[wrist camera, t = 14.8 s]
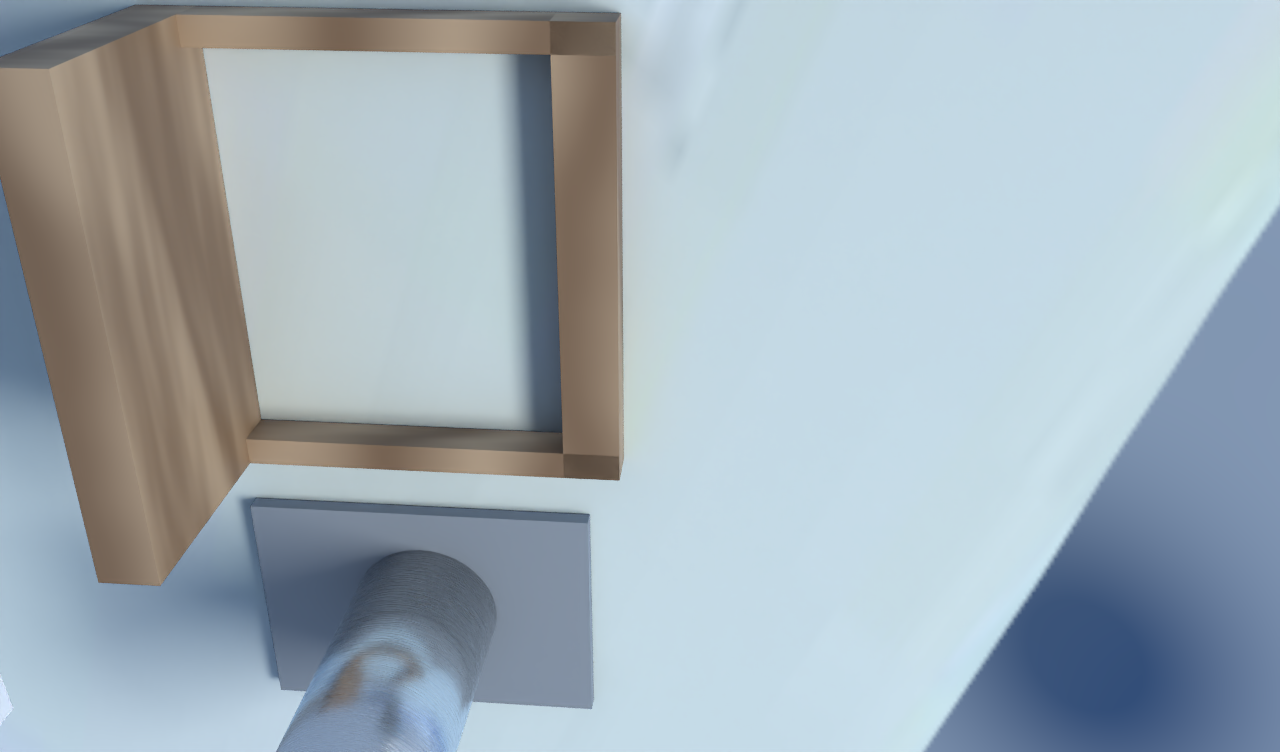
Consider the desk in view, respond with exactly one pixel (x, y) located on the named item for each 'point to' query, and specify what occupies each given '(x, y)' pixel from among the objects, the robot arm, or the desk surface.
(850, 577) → the desk surface
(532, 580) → the felt pad
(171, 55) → the frame
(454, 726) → the canister
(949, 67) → the desk surface
